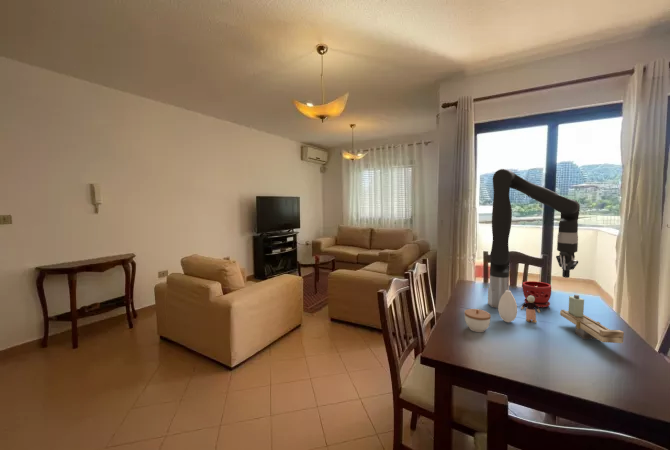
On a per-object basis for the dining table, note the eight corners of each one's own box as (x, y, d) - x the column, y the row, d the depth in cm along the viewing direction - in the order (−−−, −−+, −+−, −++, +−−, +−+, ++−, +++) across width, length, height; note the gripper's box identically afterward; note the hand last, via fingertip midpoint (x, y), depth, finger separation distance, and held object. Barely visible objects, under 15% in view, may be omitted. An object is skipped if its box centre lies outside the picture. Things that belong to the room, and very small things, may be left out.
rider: (574, 316, 127) (575, 296, 126) (568, 313, 131) (569, 293, 130) (583, 316, 126) (584, 297, 125) (577, 313, 130) (578, 294, 129)
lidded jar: (466, 322, 138) (467, 303, 137) (491, 327, 131) (492, 308, 131) (462, 330, 129) (462, 311, 128) (488, 337, 123) (489, 316, 122)
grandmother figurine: (538, 320, 138) (539, 295, 136) (540, 323, 134) (541, 297, 133) (519, 318, 141) (520, 293, 140) (521, 321, 137) (522, 296, 136)
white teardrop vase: (518, 326, 132) (520, 288, 131) (500, 324, 135) (501, 287, 133) (514, 319, 140) (515, 283, 138) (496, 317, 142) (497, 282, 141)
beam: (599, 351, 109) (601, 331, 108) (558, 322, 134) (559, 305, 134) (624, 353, 108) (625, 332, 107) (577, 323, 133) (578, 306, 132)
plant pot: (549, 302, 160) (550, 282, 159) (551, 310, 149) (552, 288, 148) (521, 298, 167) (522, 279, 166) (522, 306, 156) (523, 285, 155)
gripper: (550, 239, 141) (549, 273, 142) (567, 243, 128) (566, 281, 129) (567, 239, 139) (565, 273, 141) (586, 243, 126) (584, 281, 128)
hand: (565, 277), depth 135 cm, fingers closed
